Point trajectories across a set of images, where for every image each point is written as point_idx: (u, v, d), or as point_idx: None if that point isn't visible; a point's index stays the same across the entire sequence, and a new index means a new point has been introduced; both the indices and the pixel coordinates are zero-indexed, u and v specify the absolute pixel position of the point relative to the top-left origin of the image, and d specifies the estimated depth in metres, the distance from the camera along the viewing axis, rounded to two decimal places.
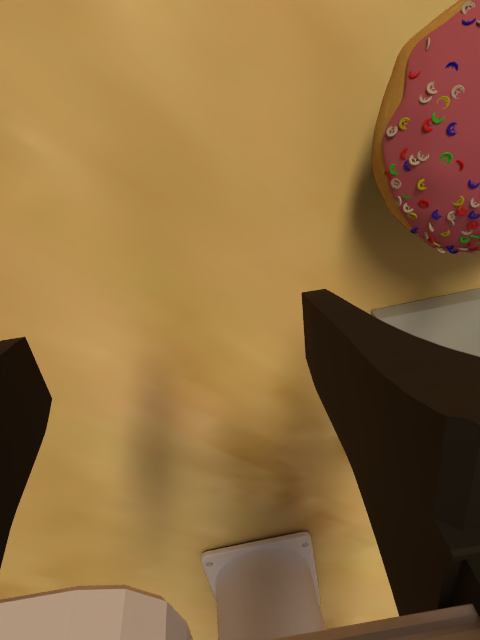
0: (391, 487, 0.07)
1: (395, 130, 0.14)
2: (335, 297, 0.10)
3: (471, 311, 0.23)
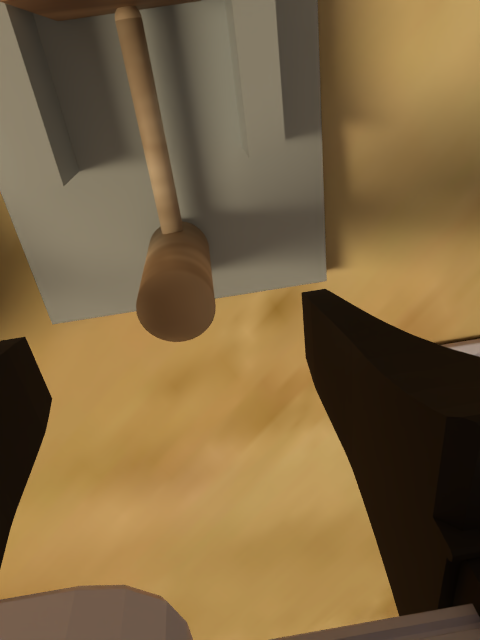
0: (391, 487, 0.07)
1: None
2: (334, 296, 0.10)
3: (26, 210, 0.17)
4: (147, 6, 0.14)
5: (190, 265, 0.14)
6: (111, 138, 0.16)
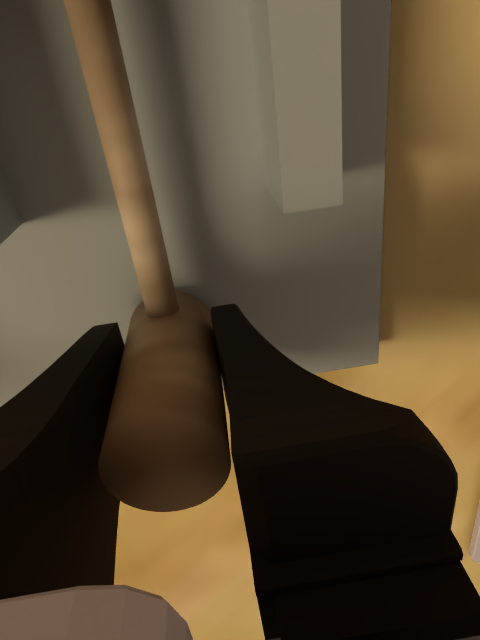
0: None
1: None
2: (235, 313, 0.10)
3: None
4: None
5: (190, 395, 0.08)
6: (69, 175, 0.10)
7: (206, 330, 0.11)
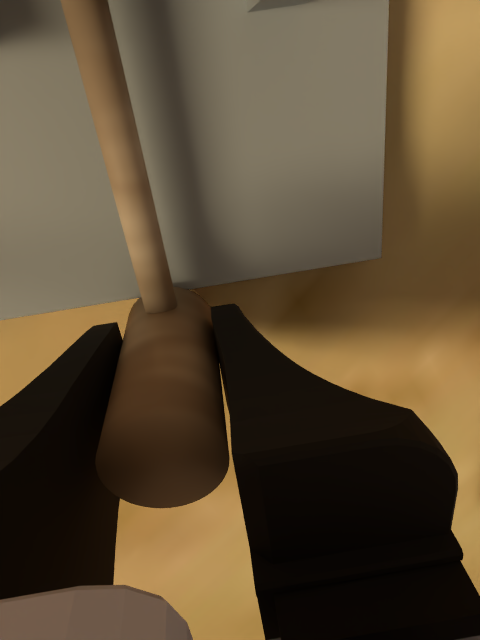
0: None
1: None
2: (235, 313, 0.10)
3: None
4: None
5: (187, 390, 0.08)
6: None
7: (204, 326, 0.11)
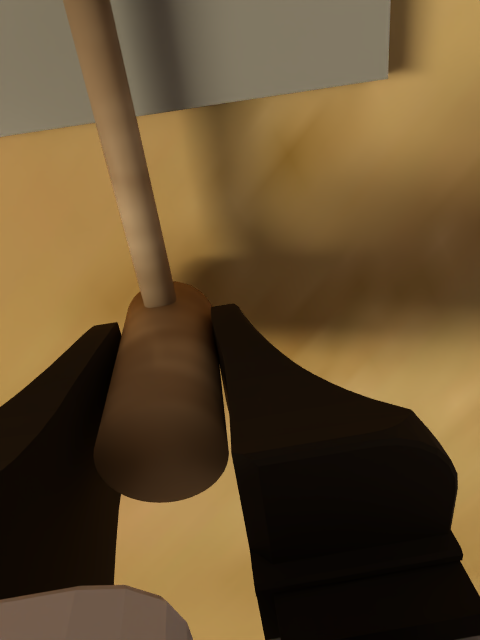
0: None
1: None
2: (235, 313, 0.10)
3: None
4: None
5: (187, 383, 0.08)
6: None
7: (204, 320, 0.11)
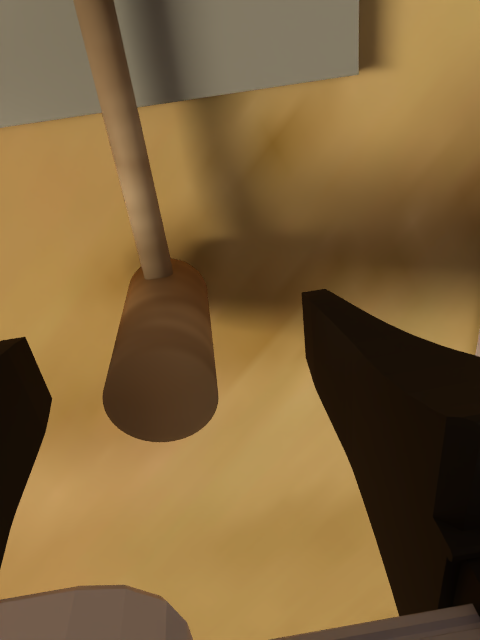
0: (391, 487, 0.07)
1: None
2: (334, 297, 0.10)
3: None
4: None
5: (182, 336, 0.10)
6: None
7: (197, 291, 0.12)
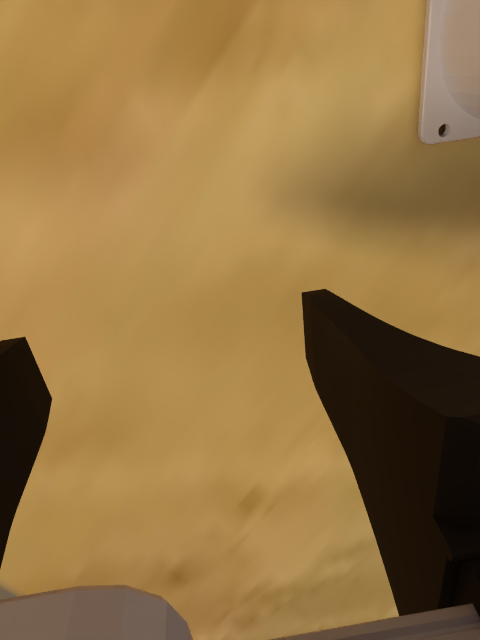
0: (391, 487, 0.07)
1: None
2: (334, 297, 0.10)
3: None
4: None
5: None
6: None
7: None
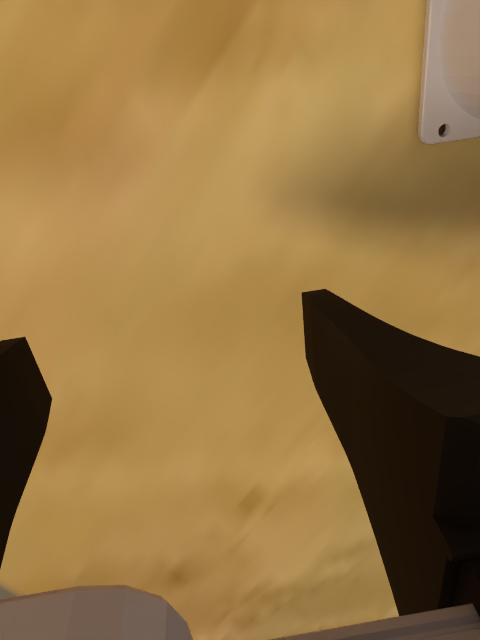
0: (391, 487, 0.07)
1: None
2: (334, 297, 0.10)
3: None
4: None
5: None
6: None
7: None
